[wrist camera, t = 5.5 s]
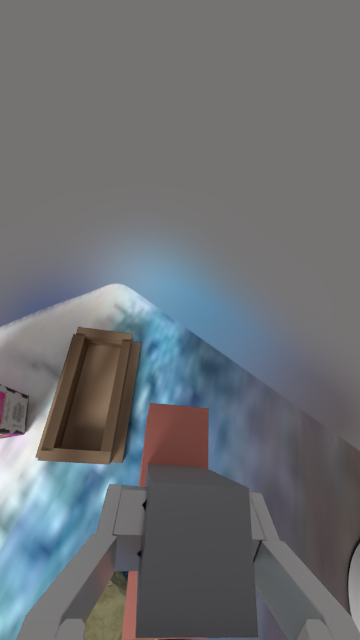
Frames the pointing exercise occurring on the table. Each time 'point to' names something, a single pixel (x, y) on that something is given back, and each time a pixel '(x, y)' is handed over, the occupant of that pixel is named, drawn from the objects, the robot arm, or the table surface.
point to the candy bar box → (12, 412)
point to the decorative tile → (109, 612)
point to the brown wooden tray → (92, 399)
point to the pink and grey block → (190, 539)
